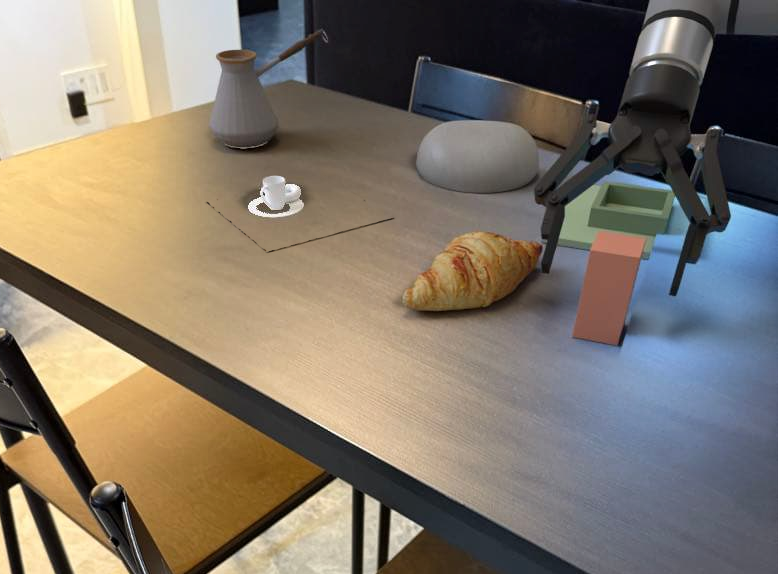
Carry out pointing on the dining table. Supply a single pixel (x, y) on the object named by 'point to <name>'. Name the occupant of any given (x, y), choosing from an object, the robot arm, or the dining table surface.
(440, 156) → the grey dome pebble
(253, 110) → the coffee pot
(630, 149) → the robot arm
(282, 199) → the teacup and saucer
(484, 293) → the croissant
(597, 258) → the foam block
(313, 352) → the dining table surface
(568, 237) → the socket pad
